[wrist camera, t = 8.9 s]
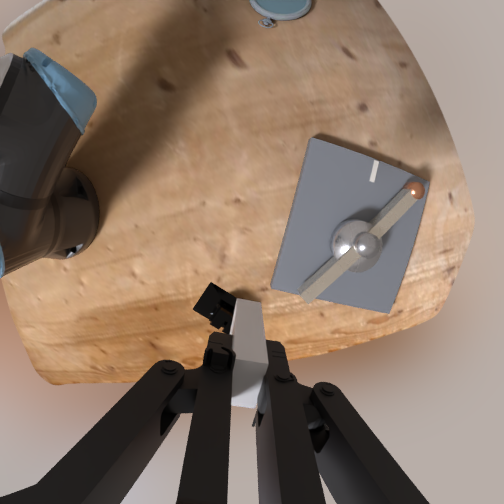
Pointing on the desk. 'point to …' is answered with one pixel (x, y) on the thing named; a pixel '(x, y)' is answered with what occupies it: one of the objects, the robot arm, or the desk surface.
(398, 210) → the rotary pointer lever
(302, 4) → the pocket watch
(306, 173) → the stand
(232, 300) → the black stepped block
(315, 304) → the desk surface
